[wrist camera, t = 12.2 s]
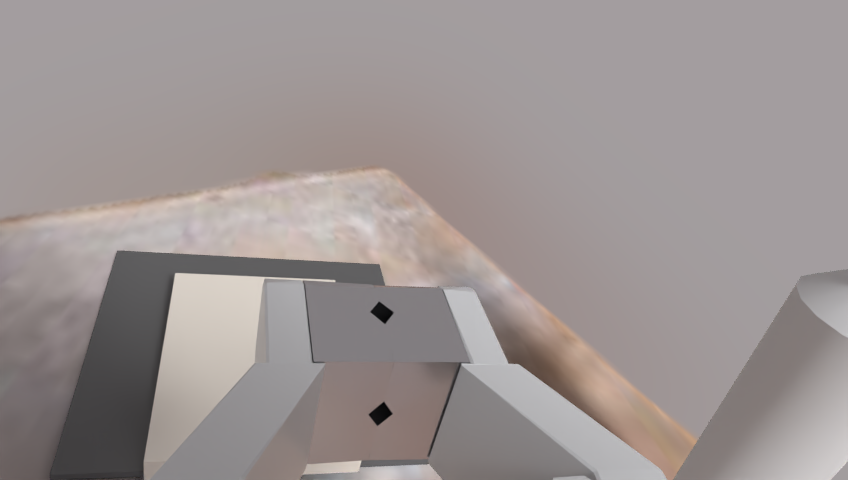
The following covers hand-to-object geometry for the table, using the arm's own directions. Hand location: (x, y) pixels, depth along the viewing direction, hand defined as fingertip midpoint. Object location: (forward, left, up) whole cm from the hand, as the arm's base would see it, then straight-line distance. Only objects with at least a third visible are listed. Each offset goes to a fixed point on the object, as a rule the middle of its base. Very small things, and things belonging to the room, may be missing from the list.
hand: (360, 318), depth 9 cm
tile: (0, +13, -20) cm, 24 cm away
